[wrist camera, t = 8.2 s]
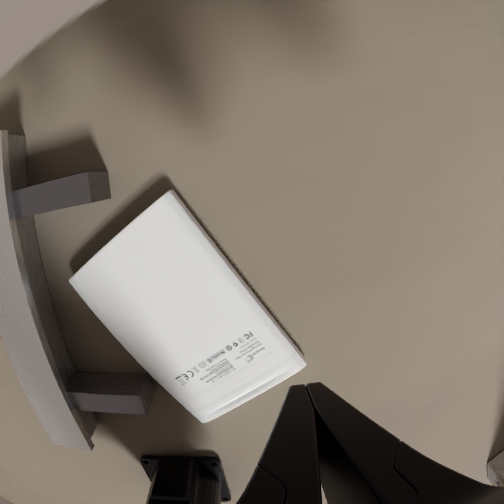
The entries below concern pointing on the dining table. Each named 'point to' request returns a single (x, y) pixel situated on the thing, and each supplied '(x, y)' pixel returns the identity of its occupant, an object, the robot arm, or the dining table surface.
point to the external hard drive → (186, 312)
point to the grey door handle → (51, 309)
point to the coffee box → (496, 470)
